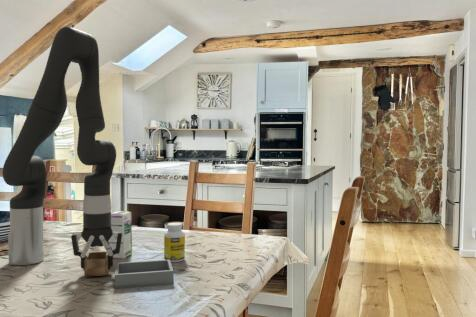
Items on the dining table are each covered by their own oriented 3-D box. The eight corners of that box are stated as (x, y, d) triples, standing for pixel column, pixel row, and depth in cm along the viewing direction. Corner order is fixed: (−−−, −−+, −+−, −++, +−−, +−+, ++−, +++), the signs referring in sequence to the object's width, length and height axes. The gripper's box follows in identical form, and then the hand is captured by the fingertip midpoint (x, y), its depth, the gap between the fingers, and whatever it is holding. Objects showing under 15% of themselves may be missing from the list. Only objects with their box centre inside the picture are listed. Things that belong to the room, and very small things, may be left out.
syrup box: (124, 258, 134) (124, 214, 133) (107, 257, 135) (107, 213, 134) (132, 254, 139) (132, 211, 139) (116, 253, 141) (115, 210, 140)
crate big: (114, 288, 107) (114, 275, 106) (116, 275, 117) (116, 262, 117) (173, 283, 110) (173, 270, 110) (169, 271, 121) (169, 259, 121)
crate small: (84, 276, 114) (84, 260, 113) (87, 267, 122) (87, 252, 122) (107, 275, 115) (107, 259, 115) (109, 266, 123) (109, 251, 123)
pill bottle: (165, 263, 129) (165, 226, 128) (163, 257, 135) (163, 222, 134) (186, 262, 130) (186, 225, 130) (183, 256, 137) (183, 221, 136)
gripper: (68, 213, 112) (68, 274, 113) (123, 212, 116) (123, 271, 116) (72, 209, 120) (72, 266, 120) (123, 207, 123) (123, 263, 124)
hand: (97, 268), depth 118 cm, fingers closed on crate small, 6 cm apart
